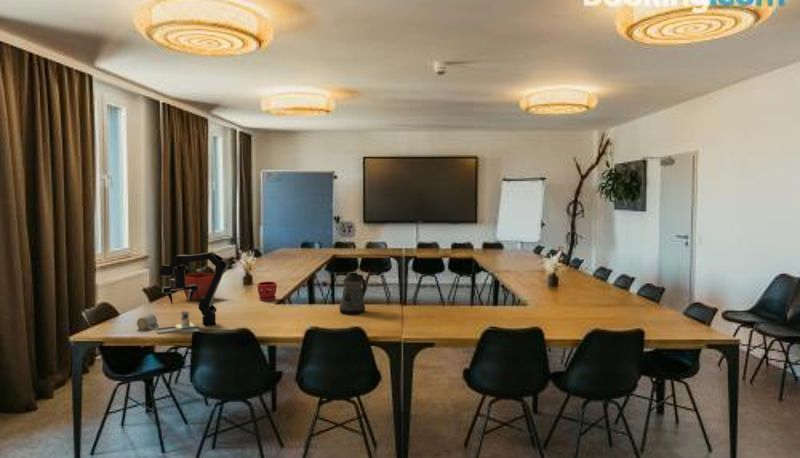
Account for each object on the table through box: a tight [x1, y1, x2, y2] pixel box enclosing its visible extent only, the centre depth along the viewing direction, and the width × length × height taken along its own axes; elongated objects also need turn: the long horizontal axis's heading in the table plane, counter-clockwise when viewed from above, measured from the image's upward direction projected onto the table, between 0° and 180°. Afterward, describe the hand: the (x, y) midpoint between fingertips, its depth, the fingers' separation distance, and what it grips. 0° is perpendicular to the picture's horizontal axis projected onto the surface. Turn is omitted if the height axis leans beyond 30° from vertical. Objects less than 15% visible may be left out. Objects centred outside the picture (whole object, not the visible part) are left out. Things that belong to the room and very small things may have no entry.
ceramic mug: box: [136, 313, 160, 331], centre depth 301 cm, size 11×8×8 cm
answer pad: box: [175, 322, 195, 329], centre depth 307 cm, size 9×9×1 cm
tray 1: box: [154, 325, 179, 335], centre depth 296 cm, size 10×10×1 cm
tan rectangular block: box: [180, 310, 190, 326], centre depth 307 cm, size 4×4×8 cm
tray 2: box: [179, 325, 202, 335], centre depth 297 cm, size 10×10×1 cm
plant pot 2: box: [256, 281, 277, 302], centre depth 381 cm, size 13×13×12 cm
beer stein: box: [338, 272, 368, 316], centre depth 345 cm, size 16×19×25 cm
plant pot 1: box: [183, 272, 215, 302], centre depth 384 cm, size 19×19×17 cm
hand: (180, 303), depth 312 cm, fingers open, 9 cm apart
